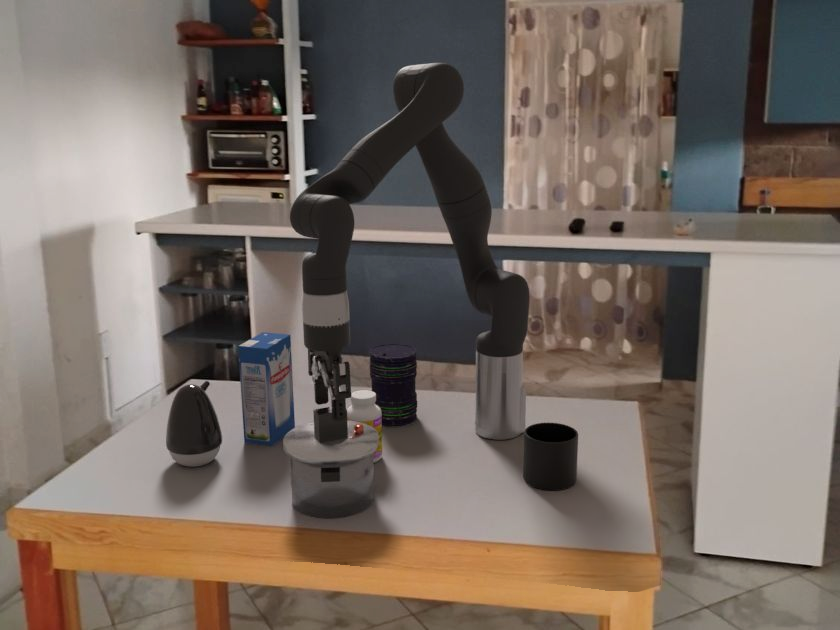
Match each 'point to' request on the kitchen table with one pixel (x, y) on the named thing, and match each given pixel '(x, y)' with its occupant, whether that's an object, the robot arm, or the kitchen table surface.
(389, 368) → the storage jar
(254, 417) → the milk carton
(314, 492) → the pot
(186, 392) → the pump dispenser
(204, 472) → the kitchen table surface
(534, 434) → the mug
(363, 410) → the supplement bottle
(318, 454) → the lid
